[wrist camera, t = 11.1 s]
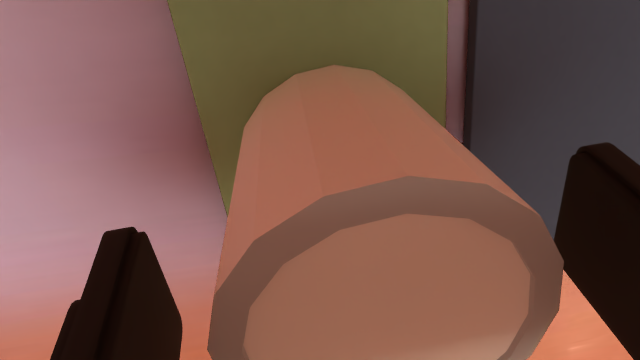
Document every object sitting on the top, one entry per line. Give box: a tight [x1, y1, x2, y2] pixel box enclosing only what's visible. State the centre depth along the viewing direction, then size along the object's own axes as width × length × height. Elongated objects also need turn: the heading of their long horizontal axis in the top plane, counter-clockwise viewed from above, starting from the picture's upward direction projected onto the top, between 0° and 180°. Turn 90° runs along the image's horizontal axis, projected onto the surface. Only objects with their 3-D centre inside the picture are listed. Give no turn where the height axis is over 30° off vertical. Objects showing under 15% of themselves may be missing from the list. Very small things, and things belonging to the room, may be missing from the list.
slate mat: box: [463, 0, 640, 241], centre depth 16 cm, size 12×7×1 cm, turn 7°
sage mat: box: [167, 0, 448, 217], centre depth 16 cm, size 12×7×1 cm, turn 7°
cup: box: [207, 65, 564, 360], centre depth 12 cm, size 7×7×7 cm
